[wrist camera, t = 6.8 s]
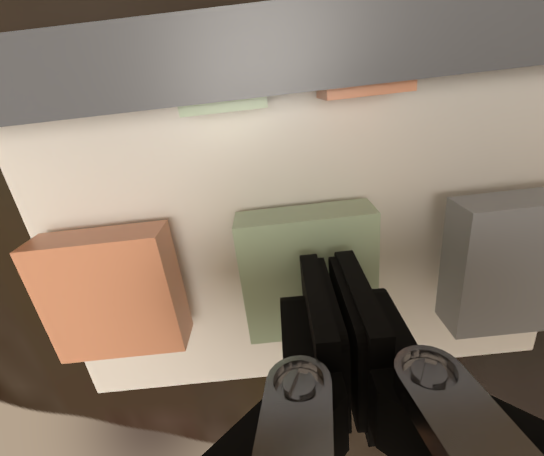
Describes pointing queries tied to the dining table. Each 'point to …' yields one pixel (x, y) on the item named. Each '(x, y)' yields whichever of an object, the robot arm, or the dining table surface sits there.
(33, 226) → the keypad
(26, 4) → the dining table surface
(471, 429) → the robot arm
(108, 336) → the terracotta key
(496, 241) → the grey key
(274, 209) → the sage key
